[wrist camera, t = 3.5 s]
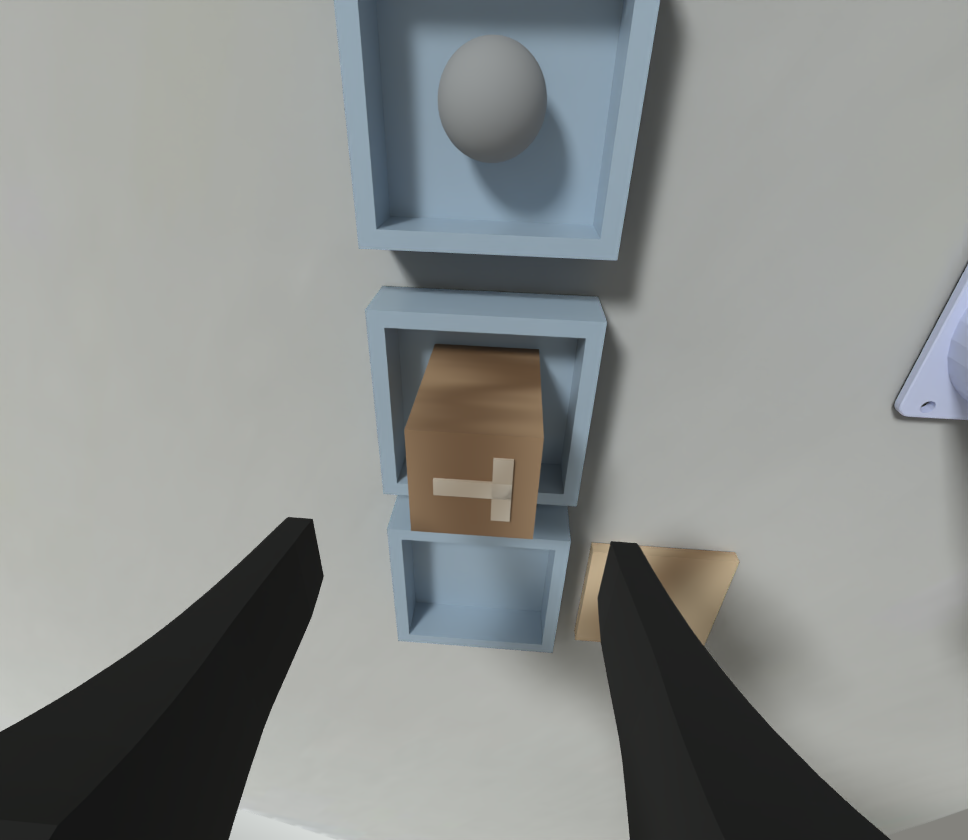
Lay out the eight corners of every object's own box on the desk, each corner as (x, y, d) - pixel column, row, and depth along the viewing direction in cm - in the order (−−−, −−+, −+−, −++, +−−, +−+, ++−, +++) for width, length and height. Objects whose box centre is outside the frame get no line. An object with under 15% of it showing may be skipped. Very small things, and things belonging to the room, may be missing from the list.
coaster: (735, 552, 25) (739, 561, 25) (699, 639, 29) (702, 649, 29) (591, 542, 26) (592, 551, 25) (574, 630, 29) (575, 639, 29)
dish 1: (653, -73, 14) (676, -102, 12) (606, 240, 18) (617, 260, 16) (353, -79, 14) (323, -109, 12) (377, 230, 18) (358, 248, 16)
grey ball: (550, 40, 15) (554, 30, 12) (540, 158, 16) (543, 171, 14) (444, 37, 15) (427, 26, 12) (445, 155, 16) (431, 167, 14)
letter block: (539, 349, 20) (544, 440, 15) (531, 435, 22) (532, 541, 17) (434, 343, 20) (403, 431, 15) (437, 430, 22) (410, 533, 17)
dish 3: (566, 502, 24) (570, 541, 22) (550, 611, 29) (552, 652, 27) (398, 491, 25) (386, 528, 23) (407, 600, 29) (398, 640, 27)
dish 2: (598, 296, 19) (607, 322, 17) (572, 469, 23) (576, 506, 21) (382, 286, 19) (365, 310, 17) (396, 457, 24) (383, 493, 22)
